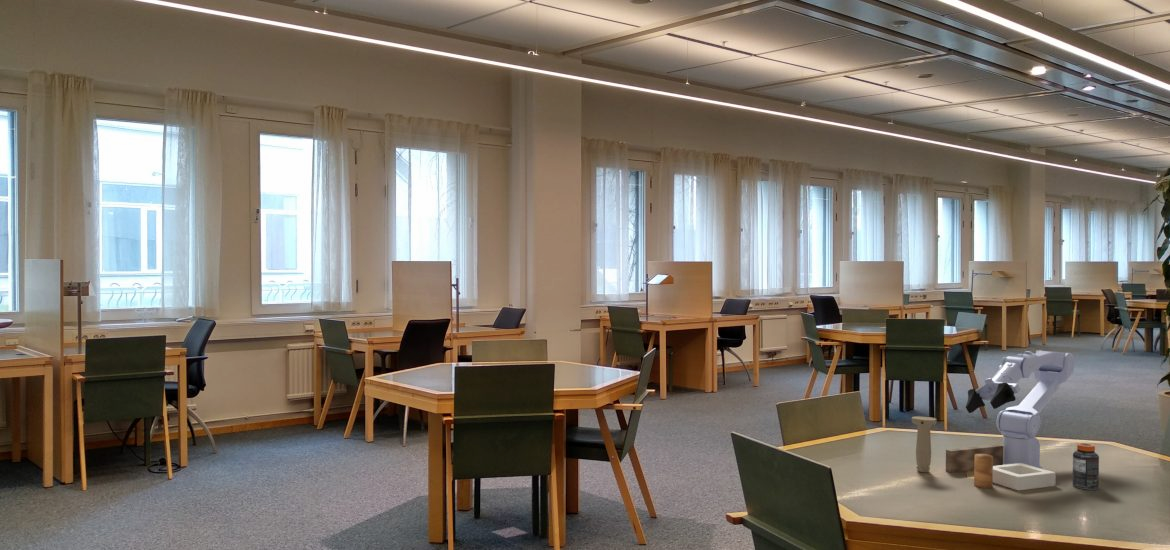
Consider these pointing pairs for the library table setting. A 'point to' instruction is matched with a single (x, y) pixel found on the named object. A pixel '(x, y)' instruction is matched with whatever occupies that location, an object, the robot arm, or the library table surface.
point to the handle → (923, 442)
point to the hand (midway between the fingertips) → (980, 407)
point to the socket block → (1023, 476)
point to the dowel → (983, 471)
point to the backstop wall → (971, 457)
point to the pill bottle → (1085, 467)
